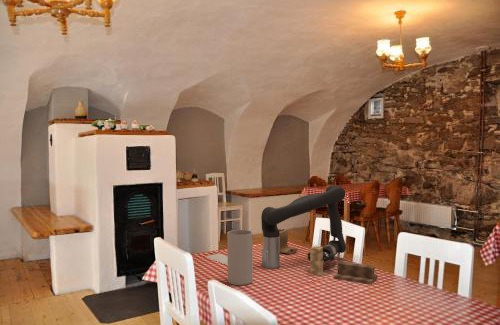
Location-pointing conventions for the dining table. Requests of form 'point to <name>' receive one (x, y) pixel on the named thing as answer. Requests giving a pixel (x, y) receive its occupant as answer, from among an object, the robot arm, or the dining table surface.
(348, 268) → the walnut ridge
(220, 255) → the baseboard
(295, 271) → the dining table surface
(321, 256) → the tan tall block
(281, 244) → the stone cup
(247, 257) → the cylinder vase
